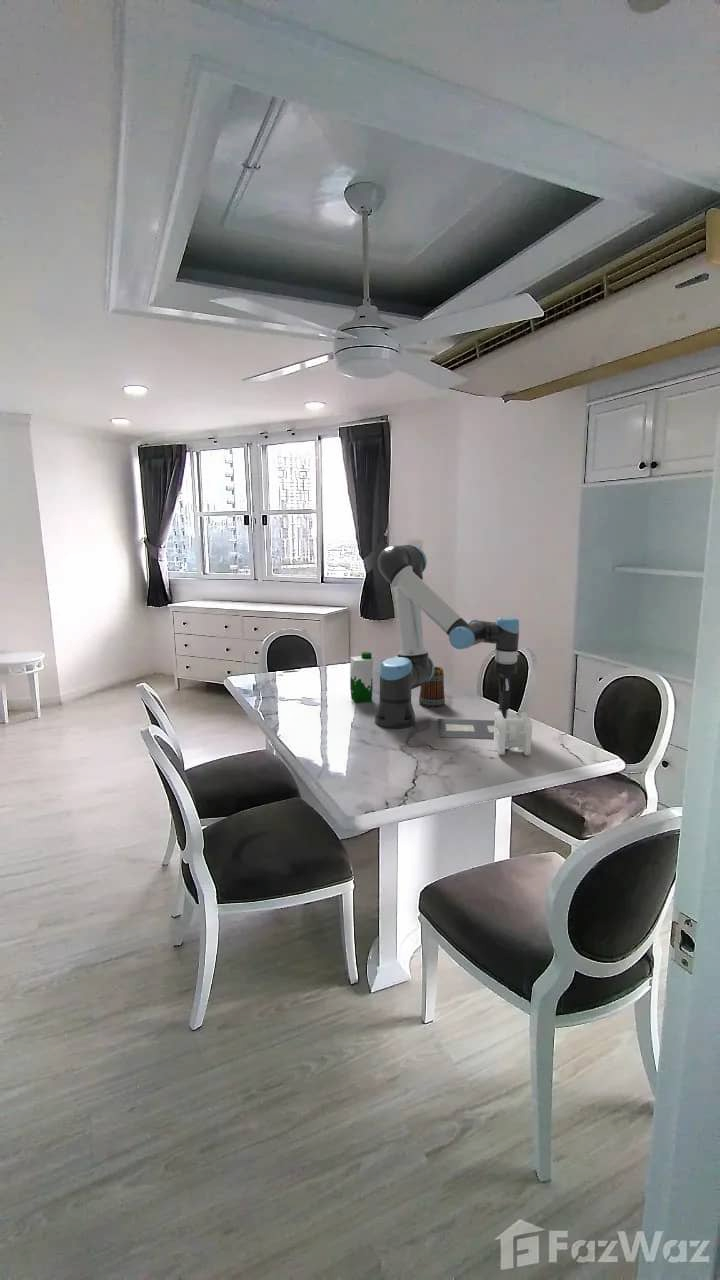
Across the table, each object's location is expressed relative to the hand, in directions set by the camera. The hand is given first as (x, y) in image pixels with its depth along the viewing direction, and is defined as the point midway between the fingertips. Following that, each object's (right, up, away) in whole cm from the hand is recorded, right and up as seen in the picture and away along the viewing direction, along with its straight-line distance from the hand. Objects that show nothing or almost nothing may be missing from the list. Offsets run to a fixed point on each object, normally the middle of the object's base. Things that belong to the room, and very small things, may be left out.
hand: (502, 726), depth 215 cm
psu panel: (-7, -1, +2) cm, 8 cm away
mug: (-21, +5, +35) cm, 41 cm away
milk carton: (-50, +5, +38) cm, 63 cm away
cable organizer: (-2, -5, -18) cm, 19 cm away
